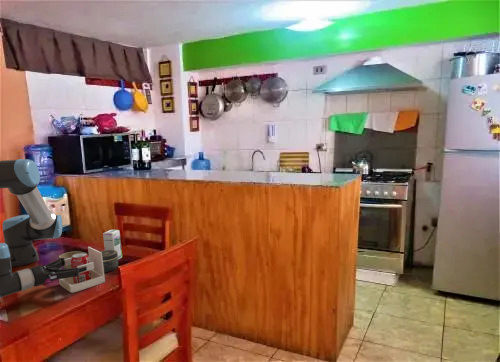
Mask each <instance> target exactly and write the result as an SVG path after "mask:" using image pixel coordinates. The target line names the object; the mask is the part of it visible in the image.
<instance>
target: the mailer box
mask: <svg viewBox="0 0 500 362" xmlns="http://www.w3.org/2000/svg"><path fill="white" fill-rule="evenodd" d="M87 252H88V253H87V254H88V257H89V261H90V263H92V262H94V269H92V270H91V279H90V280H87V281H84V282H81V283H78V284H76V283H74V281H73V277H69V278H63V279H58V282H59V286H61V287H62V288H63V289H65V290H66V291H67V292H69V293H71V294H73V293H77V292H80V291H83V290H86V289H89V288H92V287H95V286H98V285H101V284H103V283H106V279H105V272H104V267H103V258H102V253H101V251H99V250H97V249H95V248H92V247H91V246H88V247H87Z"/></svg>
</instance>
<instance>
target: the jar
mask: <svg viewBox="0 0 500 362" xmlns="http://www.w3.org/2000/svg"><path fill="white" fill-rule="evenodd" d="M100 252H101V253H102V258H103V267H104V273H108V272H111V271H115V270H117V268H118V267H119V259H118V253H117V251H116V250H105V249H104V250H101V251H100Z"/></svg>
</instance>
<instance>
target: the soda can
mask: <svg viewBox="0 0 500 362" xmlns="http://www.w3.org/2000/svg"><path fill="white" fill-rule="evenodd" d="M88 263H90V261H89V254H88V253H87V252H82V253H77V254H74V255H72V259H71V267H72V268H77V267H78V266H81V265H85V264H88ZM74 273H75V272H74ZM90 279H91V270H89V271H85V272H82V273H79V276H76V277H73V281H74V283H76V284H78V283H81V282H84V281H87V280H90Z"/></svg>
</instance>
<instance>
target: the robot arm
mask: <svg viewBox="0 0 500 362" xmlns="http://www.w3.org/2000/svg"><path fill="white" fill-rule="evenodd" d="M39 171H40V169H39V167H38V165H37V164H36V162H35V161H33V160H32V159H25V158H24V159H23V158H19V159H7V160H6V159H5V160H0V189H8V191H9V192H10V194H12V195H14V196H16V197H17V198H18V200H19V201H20V204H21V205H22V206H23V208H24V210H25V212H26V213H27V214H22V215H16V216H13V217H10V218H7V219H4V220H3V221H2V232H3V239H4V242H0V299H1V298H3V297H6V296H9V295H13V294H15V293H19V292H22V291H23V292H25V291H26V290H29V289H32V288H33V287H39V286H41V285H42V286H43V285H44V284H45V283H46V280H47V279H50V281H51V282H52V281H56V280H59V279H63V278H69V277H76V276H79V273H82V272H85V271H89V270H92V269H94V262H92V263H88V264H85V265H81V266H78V267H77V268H69V269H65V268H62V267H63V266H64V264H65V266H67V265H71V259H72V258H68V259H64V258H61V259H59V258H58V259H56V260H54V261H51V262H49V263H47V264H45V265H36V266H31V267H30V268H25V269H24V268H23V269H21V270H17V271H15V272H13V267H21V266H25V265H29V264H31V263H32V264H33V263H35V262H36V261H38V260H39V253H38V252H37V250H36V248H35V246H34V244H33V241H39V240H40V241H42V240H53V239H58V238H60V237H61V236H62V232H63V217H62V215H60V214H57V215H56V214H55V213H54V211H52V210H51V209H49V208H48V206H47V204H46V202H45V200H44V198H43V196H42V194H41V192H40V190H39V188H38V185H39V184H40V181H41V174H40V173H41V172H39ZM74 272H75V273H74Z"/></svg>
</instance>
